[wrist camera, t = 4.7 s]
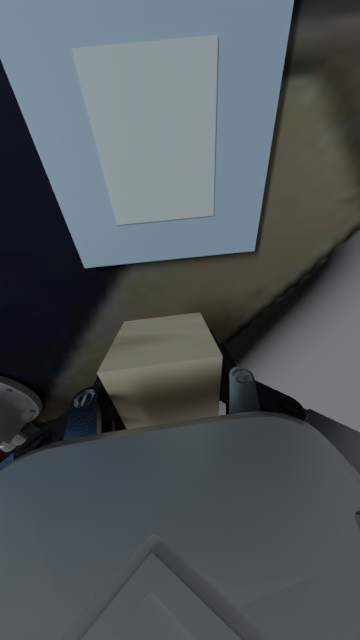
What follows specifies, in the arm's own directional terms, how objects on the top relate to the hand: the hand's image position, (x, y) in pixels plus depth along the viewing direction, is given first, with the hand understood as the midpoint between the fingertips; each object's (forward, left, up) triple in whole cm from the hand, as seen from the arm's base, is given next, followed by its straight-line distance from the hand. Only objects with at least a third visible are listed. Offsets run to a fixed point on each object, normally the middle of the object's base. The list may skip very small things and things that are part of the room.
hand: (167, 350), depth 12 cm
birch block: (0, 0, -1) cm, 1 cm away
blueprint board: (+13, -1, -6) cm, 15 cm away
